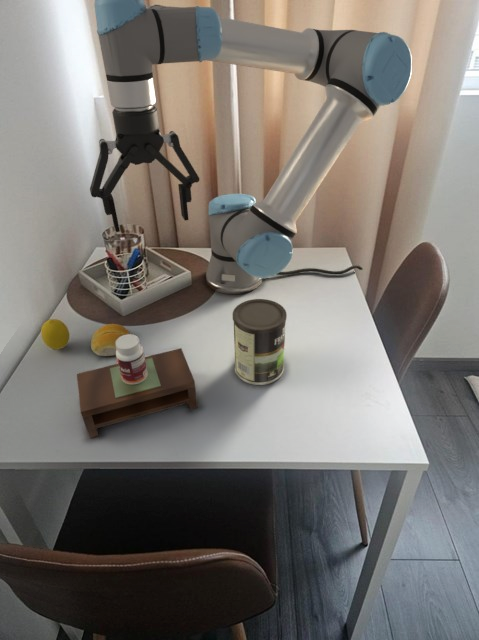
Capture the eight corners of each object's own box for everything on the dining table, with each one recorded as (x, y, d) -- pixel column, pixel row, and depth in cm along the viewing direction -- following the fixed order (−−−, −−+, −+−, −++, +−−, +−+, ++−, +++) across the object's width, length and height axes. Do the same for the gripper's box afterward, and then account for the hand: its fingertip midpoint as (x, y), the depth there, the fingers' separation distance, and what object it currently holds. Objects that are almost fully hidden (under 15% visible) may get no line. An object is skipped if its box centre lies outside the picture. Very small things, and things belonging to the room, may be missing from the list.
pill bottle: (116, 377, 81) (107, 341, 76) (137, 363, 84) (130, 329, 79) (131, 389, 79) (123, 354, 74) (153, 375, 81) (146, 340, 76)
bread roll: (131, 330, 104) (128, 316, 102) (128, 355, 97) (124, 341, 94) (95, 333, 103) (91, 319, 101) (89, 359, 96) (85, 345, 94)
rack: (184, 373, 92) (181, 347, 88) (197, 407, 84) (194, 380, 80) (85, 399, 87) (76, 372, 82) (89, 438, 79) (80, 411, 75)
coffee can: (288, 356, 96) (291, 302, 87) (277, 389, 88) (280, 334, 79) (242, 348, 98) (241, 295, 90) (227, 379, 90) (225, 325, 82)
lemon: (65, 358, 97) (55, 329, 92) (42, 355, 98) (31, 326, 93) (77, 342, 101) (68, 313, 96) (55, 339, 102) (45, 311, 97)
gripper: (198, 96, 81) (206, 206, 94) (56, 109, 75) (85, 226, 87) (211, 104, 76) (217, 220, 88) (57, 119, 69) (88, 242, 82)
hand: (151, 223), depth 88 cm, fingers open, 13 cm apart
